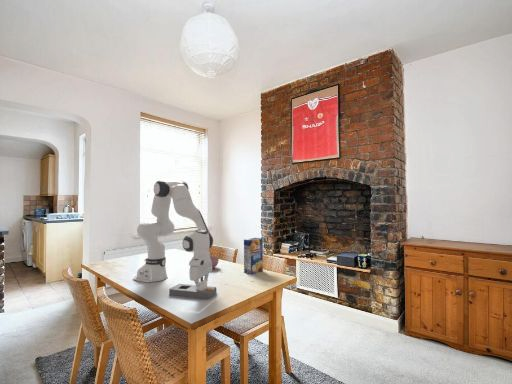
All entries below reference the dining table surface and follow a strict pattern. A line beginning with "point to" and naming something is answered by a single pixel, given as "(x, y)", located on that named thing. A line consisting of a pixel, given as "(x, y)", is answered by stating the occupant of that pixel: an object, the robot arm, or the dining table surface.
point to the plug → (202, 285)
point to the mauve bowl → (214, 261)
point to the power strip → (192, 291)
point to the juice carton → (253, 255)
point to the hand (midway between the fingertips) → (201, 284)
